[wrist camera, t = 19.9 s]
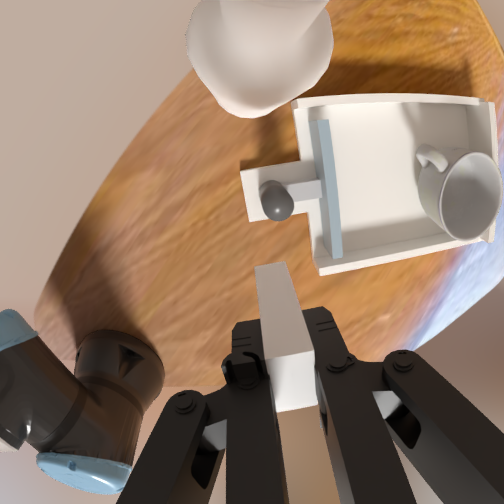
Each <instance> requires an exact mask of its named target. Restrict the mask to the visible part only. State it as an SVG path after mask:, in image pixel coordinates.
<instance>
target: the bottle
mask: <svg viewBox="0 0 504 504" xmlns="http://www.w3.org/2000/svg"><path fill="white" fill-rule="evenodd" d="M329 1H330V0H201V2H200V3H199V4H198V5H197V6H196V8H195V9H194V11H193V13H192V16H191V19H190V22H189V25H188V28H187V31H186V34H185V35H186V46H187V56H188V58H189V60H190V62H191V64H192V66H193V67H194V69H195V71H196V73H197V75H198V77H199V78H200V79H201V80H202V82H203V83H204V84H205V85H206V87H207V88H208V89H209V91H210V92H211V93H212V94H213V96H214V97H215V98H216V100H217V102H218V104H219V105H220V106H222V107H223V108H224V109H225V110H226V111H227V112H228V113H231V114H233V115H236V116H238V117H242V118H256V117H260V116H264V115H267V114H268V113H270V112H271V111H273V110H274V109H276V108H277V107H279V106H281V105H283V104H285V103H287V102H288V101H290V100H292V99H294V98H296V97H297V96H299V95H300V94H302V93H303V92H305V91H307V90H308V89H310V88H311V87H313V86H315V84H316V83H317V82H318V80H319V79H320V78H321V76H322V75H323V74H324V72H325V71H326V70H327V68H328V66H329V62H330V58H331V54H332V50H333V46H334V40H333V34H332V28H331V22H330V17H329V14H328V12H327V10H326V9H325V6H326V4H327V3H328V2H329Z"/></svg>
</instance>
